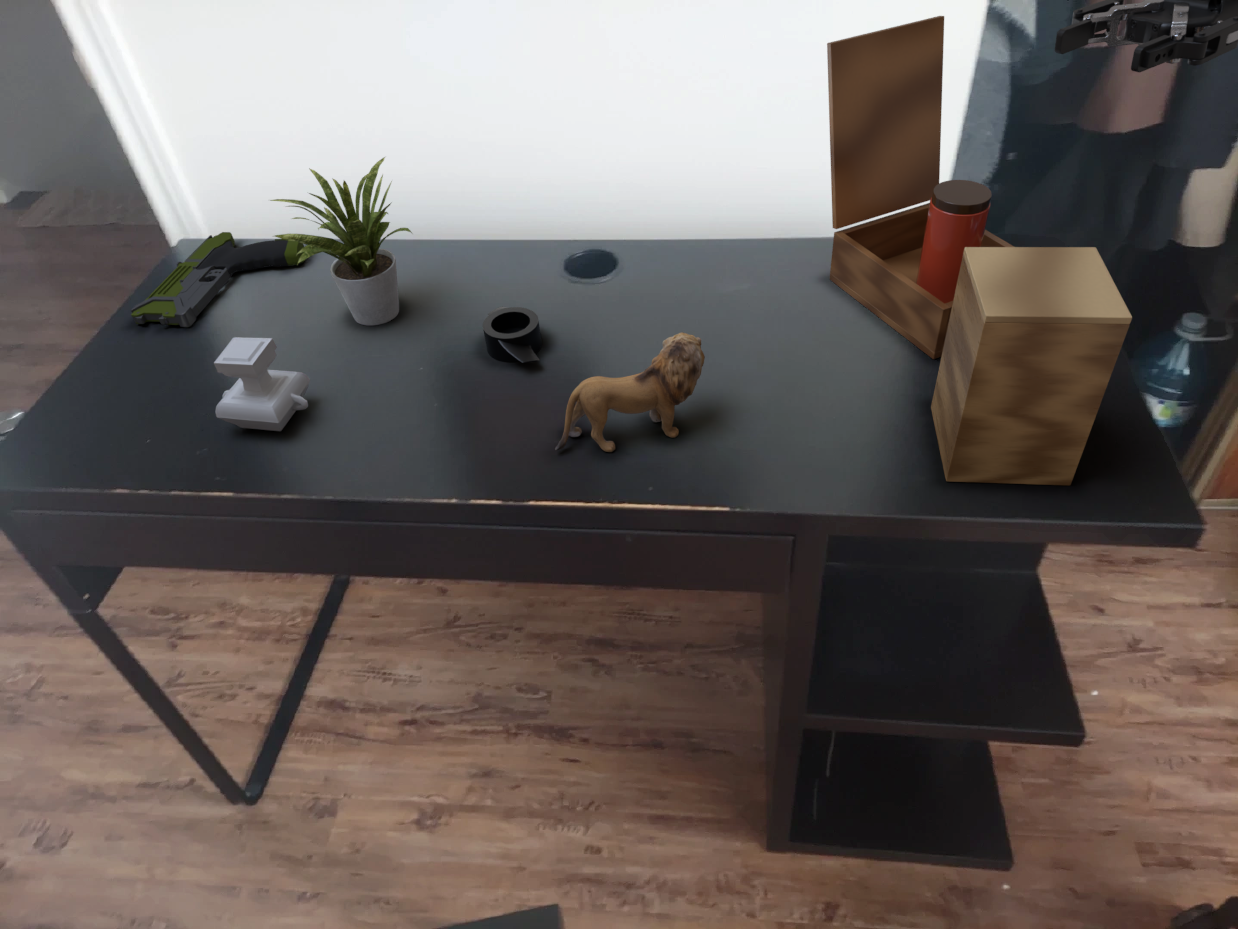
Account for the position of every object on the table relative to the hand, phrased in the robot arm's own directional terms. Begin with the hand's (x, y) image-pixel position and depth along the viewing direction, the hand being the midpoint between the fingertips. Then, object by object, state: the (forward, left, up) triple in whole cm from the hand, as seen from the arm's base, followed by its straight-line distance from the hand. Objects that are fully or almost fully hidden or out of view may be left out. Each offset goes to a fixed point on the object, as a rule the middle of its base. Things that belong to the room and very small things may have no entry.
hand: (1095, 51), depth 85 cm
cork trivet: (-12, +28, -7) cm, 31 cm away
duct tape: (+32, +48, -24) cm, 62 cm away
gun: (+68, +64, -24) cm, 96 cm away
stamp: (+40, +72, -24) cm, 85 cm away
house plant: (+50, +54, -24) cm, 77 cm away
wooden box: (+5, +12, -23) cm, 27 cm away
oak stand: (-12, +28, -23) cm, 38 cm away
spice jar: (+4, +12, -23) cm, 26 cm away
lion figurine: (+13, +48, -24) cm, 55 cm away
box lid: (+15, +9, -8) cm, 19 cm away
